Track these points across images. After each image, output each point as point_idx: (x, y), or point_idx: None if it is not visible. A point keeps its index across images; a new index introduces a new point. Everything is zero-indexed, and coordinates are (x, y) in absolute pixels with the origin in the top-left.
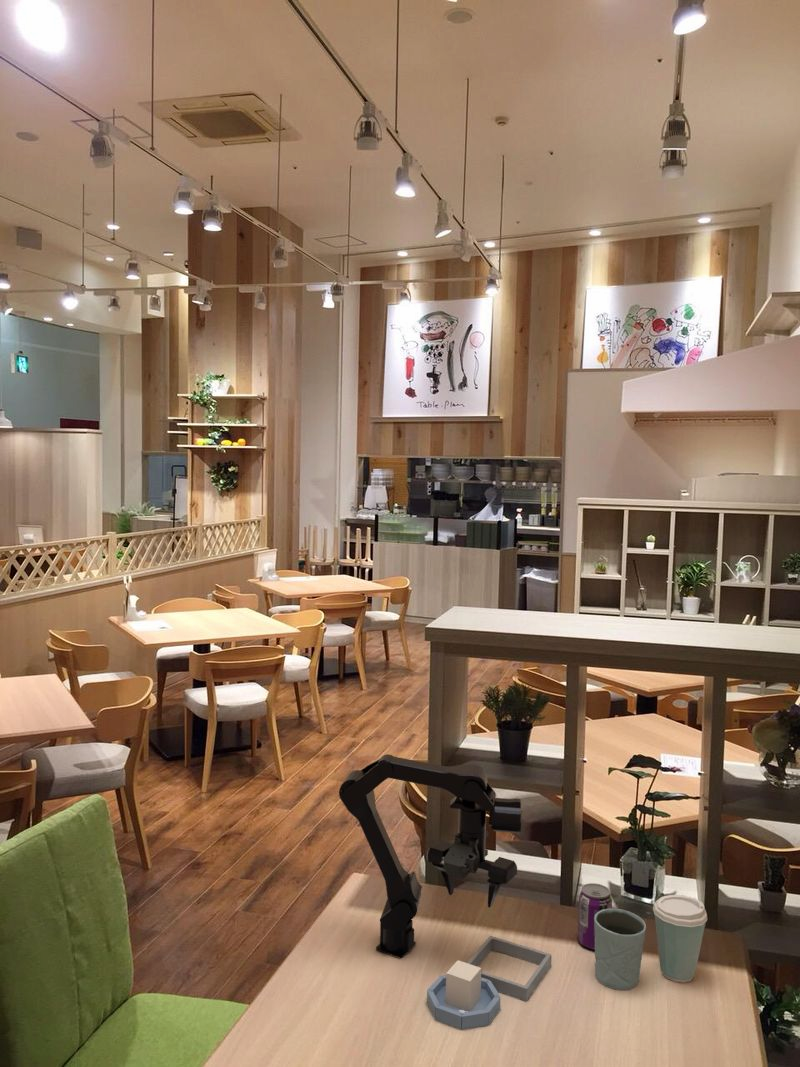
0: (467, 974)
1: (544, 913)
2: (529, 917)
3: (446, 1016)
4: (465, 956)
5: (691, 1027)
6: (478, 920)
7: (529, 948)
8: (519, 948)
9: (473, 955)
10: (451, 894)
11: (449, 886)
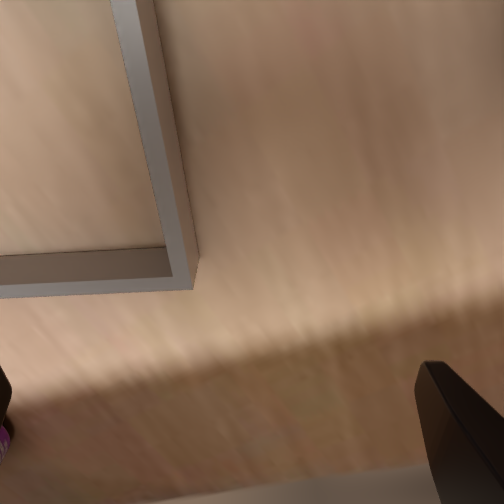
0: None
1: (169, 466)
2: (192, 439)
3: None
4: (246, 140)
5: None
6: (326, 366)
7: (2, 293)
8: (43, 278)
9: (150, 95)
10: (421, 370)
11: (477, 442)
